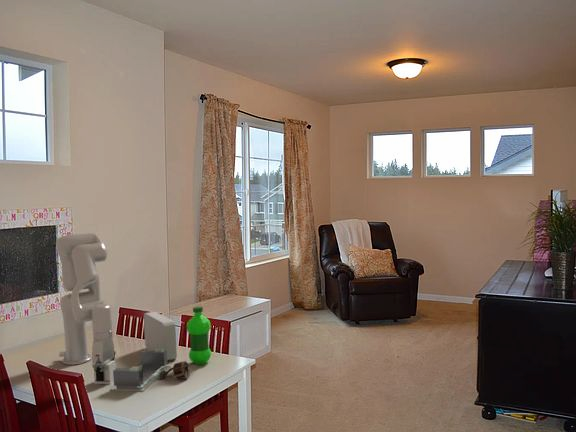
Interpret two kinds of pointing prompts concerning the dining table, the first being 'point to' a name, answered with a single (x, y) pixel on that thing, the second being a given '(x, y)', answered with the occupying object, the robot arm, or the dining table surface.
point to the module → (107, 373)
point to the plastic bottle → (199, 337)
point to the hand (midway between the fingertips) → (105, 377)
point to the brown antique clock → (177, 371)
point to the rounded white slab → (160, 333)
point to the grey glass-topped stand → (141, 371)
